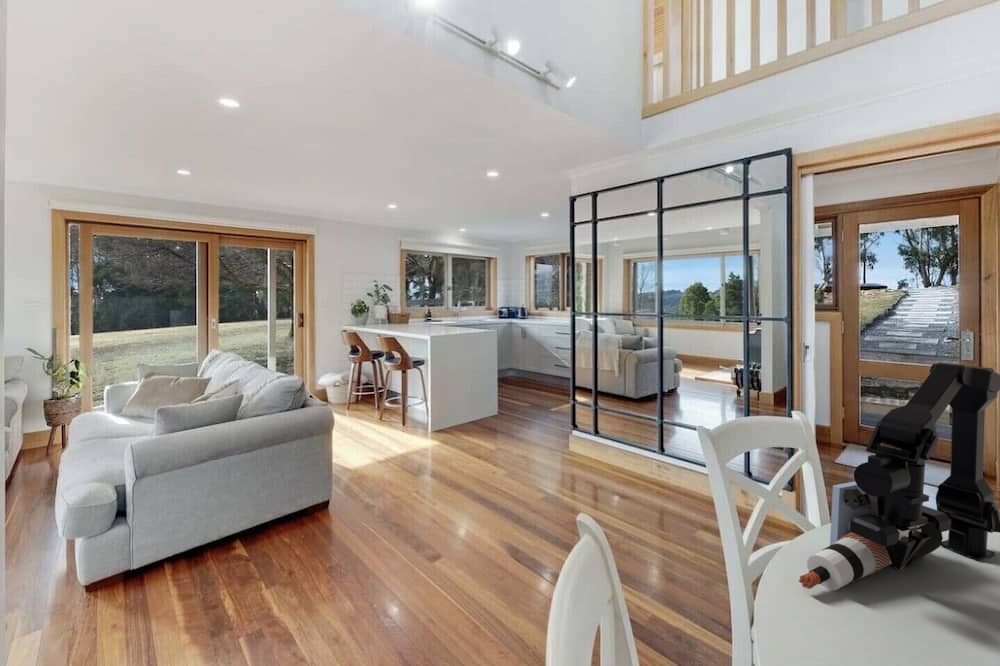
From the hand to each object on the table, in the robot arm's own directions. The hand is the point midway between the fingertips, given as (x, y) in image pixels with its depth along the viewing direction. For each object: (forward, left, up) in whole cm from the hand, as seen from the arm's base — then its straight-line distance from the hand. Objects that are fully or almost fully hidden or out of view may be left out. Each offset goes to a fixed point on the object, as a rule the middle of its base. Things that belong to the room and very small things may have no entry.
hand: (897, 568), depth 84 cm
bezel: (-8, -11, -4) cm, 14 cm away
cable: (+1, -5, -4) cm, 7 cm away
